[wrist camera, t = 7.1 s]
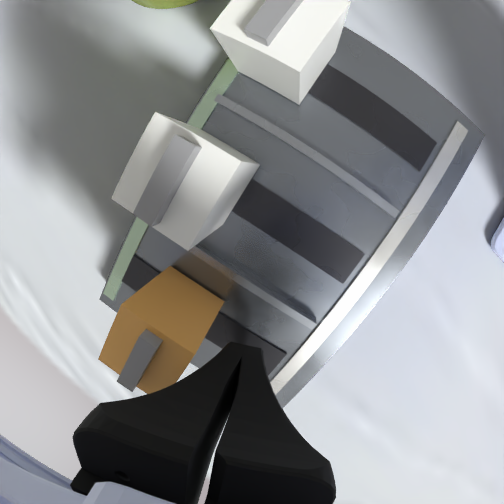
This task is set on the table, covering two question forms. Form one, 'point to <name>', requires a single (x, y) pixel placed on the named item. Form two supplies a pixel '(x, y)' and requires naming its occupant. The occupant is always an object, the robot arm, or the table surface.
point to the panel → (312, 207)
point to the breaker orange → (159, 331)
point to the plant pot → (163, 3)
